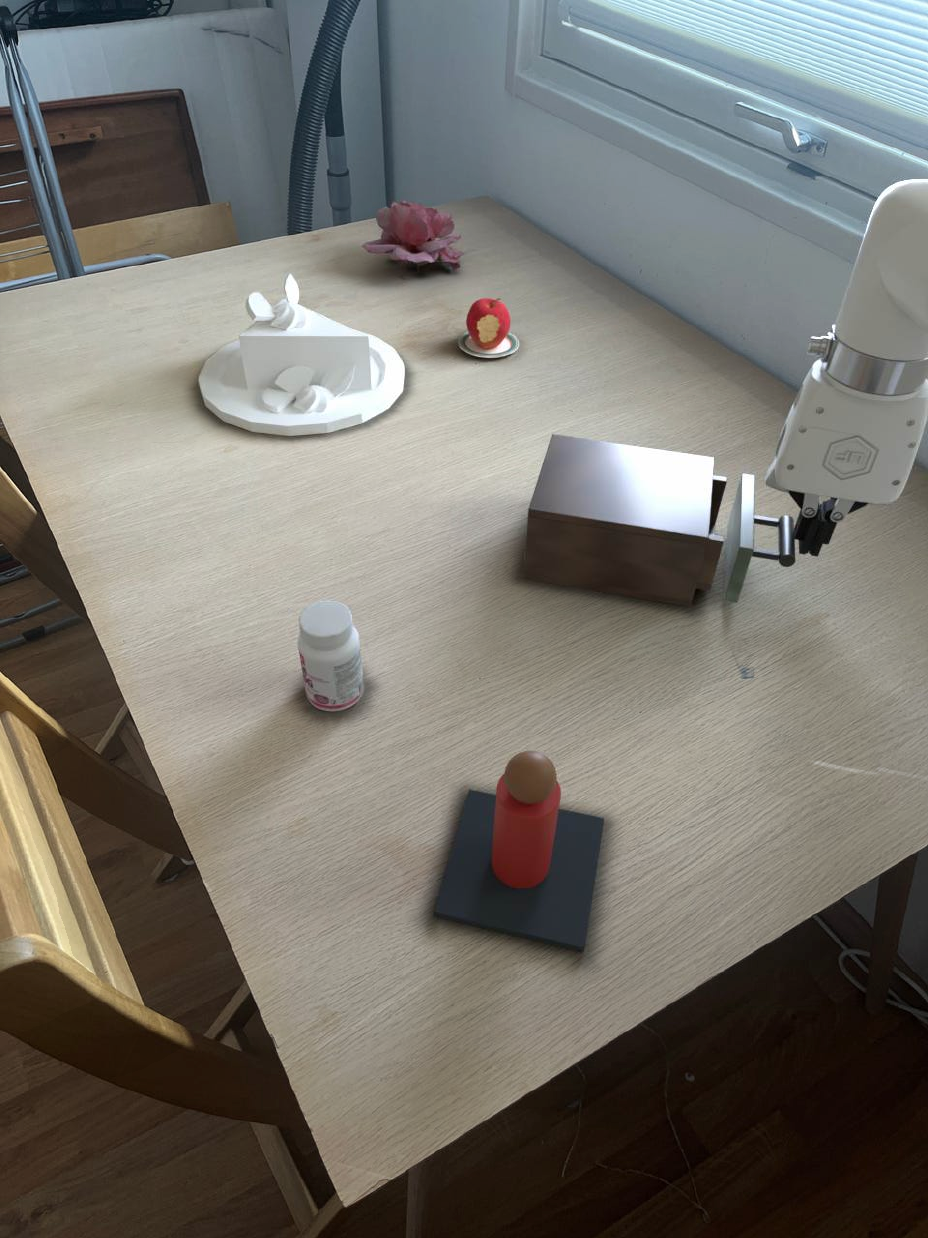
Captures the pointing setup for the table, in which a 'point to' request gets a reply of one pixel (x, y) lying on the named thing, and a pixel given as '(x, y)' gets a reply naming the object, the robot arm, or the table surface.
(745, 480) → the drawer
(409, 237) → the flower
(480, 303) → the apple
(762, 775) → the table surface
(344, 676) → the pill bottle
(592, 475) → the cabinet
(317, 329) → the dish
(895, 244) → the robot arm
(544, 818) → the red cylinder
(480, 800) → the coaster
